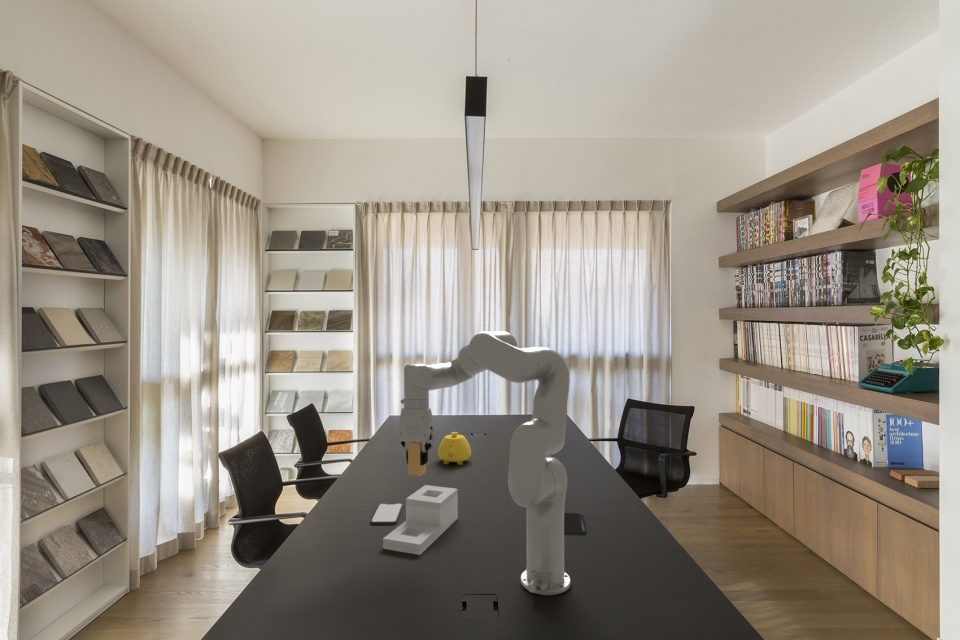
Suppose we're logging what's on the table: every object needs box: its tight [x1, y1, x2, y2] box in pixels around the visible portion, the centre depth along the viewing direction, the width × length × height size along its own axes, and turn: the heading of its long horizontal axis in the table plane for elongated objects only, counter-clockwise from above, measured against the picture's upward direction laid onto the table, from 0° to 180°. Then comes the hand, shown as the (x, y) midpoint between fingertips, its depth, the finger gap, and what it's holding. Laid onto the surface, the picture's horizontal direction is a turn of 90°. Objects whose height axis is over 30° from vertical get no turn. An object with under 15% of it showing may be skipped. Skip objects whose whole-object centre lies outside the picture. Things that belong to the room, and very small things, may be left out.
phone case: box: [370, 503, 404, 526], centre depth 175 cm, size 9×2×16 cm
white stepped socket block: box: [382, 484, 459, 556], centre depth 161 cm, size 28×12×10 cm, turn 160°
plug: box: [407, 442, 427, 477], centre depth 157 cm, size 4×4×10 cm
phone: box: [564, 512, 587, 535], centre depth 167 cm, size 8×1×15 cm
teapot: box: [437, 431, 472, 466], centre depth 238 cm, size 20×16×14 cm
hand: (417, 462), depth 157 cm, fingers closed on plug, 3 cm apart
